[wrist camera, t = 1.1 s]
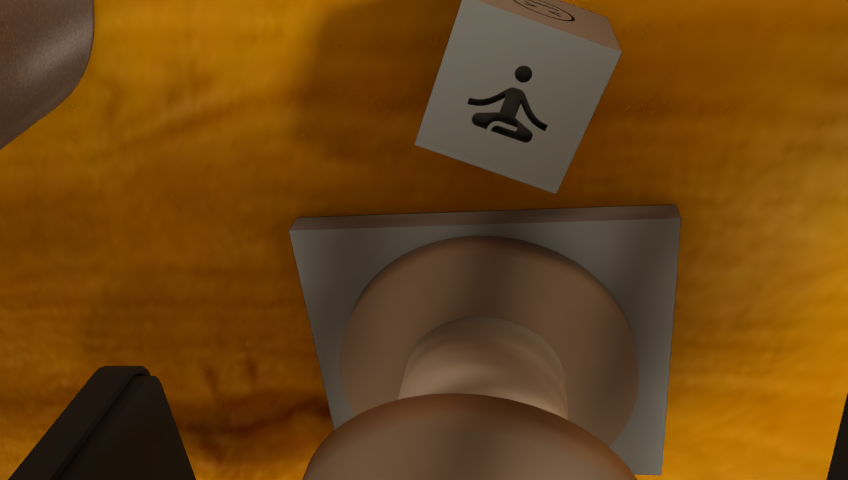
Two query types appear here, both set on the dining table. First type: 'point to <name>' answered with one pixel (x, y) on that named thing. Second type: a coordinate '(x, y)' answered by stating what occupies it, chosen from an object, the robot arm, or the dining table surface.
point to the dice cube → (519, 87)
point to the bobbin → (492, 341)
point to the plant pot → (40, 58)
